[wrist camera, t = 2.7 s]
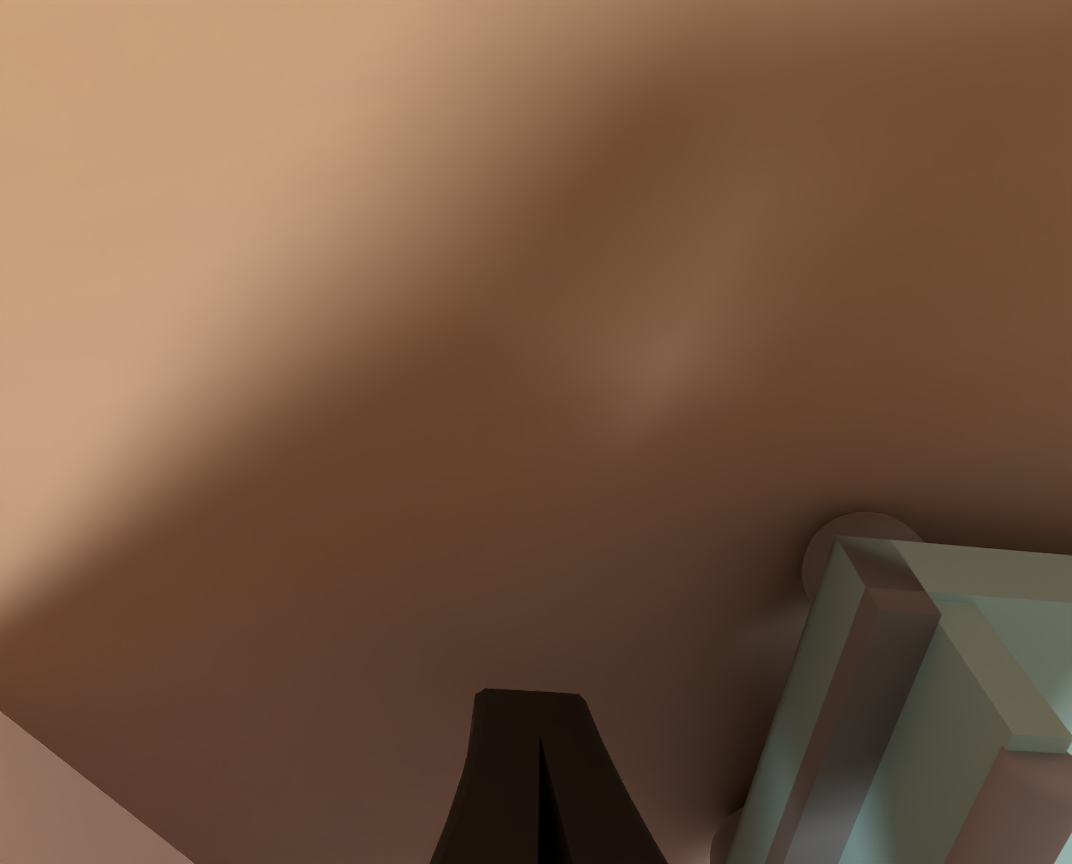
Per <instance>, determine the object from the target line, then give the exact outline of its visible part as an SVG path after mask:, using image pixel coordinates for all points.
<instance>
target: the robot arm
mask: <svg viewBox="0 0 1072 864" xmlns="http://www.w3.org/2000/svg"><path fill="white" fill-rule="evenodd" d="M430 864H668V863H667V861H666V859H665V858H664V856H663V854H662V853H661V851H660V849H659V848H658V846H657V844H656V843H655V841H654V839H653V837H652V835H651V834H650V832H649V830H648V828H647V827H646V825H645V823H644V821H643V819H642V818H641V816H640V814H639V812H638V810H637V809H636V807H635V805H634V803H633V801H632V800H631V798H630V796H629V794H628V792H627V790H626V788H625V786H624V784H623V782H622V781H621V779H620V776H619V774H618V772H617V770H616V768H615V766H614V764H613V762H612V760H611V758H610V756H609V754H608V752H607V750H606V748H605V746H604V743H603V741H602V739H601V737H600V735H599V732H598V730H597V728H596V725H595V723H594V721H593V718H592V716H591V714H590V711H589V709H588V706H587V703H586V701H585V700H584V699H583V698H582V697H581V696H580V695H579V694H571V693H554V692H538V691H521V690H505V689H488V688H485V689H483V690H482V691H480V692H479V693H477V694H475V700H474V708H473V715H472V723H471V730H470V737H469V745H468V752H467V758H466V762H465V765H464V769H463V773H462V776H461V779H460V782H459V785H458V788H457V791H456V794H455V797H454V800H453V803H452V806H451V809H450V813H449V816H448V819H447V821H446V824H445V827H444V829H443V832H442V834H441V837H440V839H439V842H438V844H437V847H436V849H435V851H434V854H433V856H432V859H431V861H430Z"/></svg>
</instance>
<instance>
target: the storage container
mask: <svg viewBox="0 0 1072 864" xmlns="http://www.w3.org/2000/svg"><path fill="white" fill-rule="evenodd" d="M0 864H194V863H193V862H192V861H191V860H189V859H188V858H187V857H185V856H184V855H183V854H182V853H180V852H179V851H178V850H176V849H175V848H174V847H173V846H171V845H170V844H169V843H168V842H166V841H165V840H164V839H162V838H161V837H160V836H159V835H157V834H156V833H155V832H154V831H152V830H151V829H150V828H148V827H147V826H146V825H145V824H143V823H142V822H141V821H140V820H138V819H137V818H136V817H134V816H133V815H132V814H131V813H129V812H128V811H127V810H126V809H124V808H123V807H122V806H120V805H119V804H118V803H117V802H115V801H114V800H113V799H112V798H110V797H109V796H108V795H106V794H105V793H104V792H103V791H101V790H100V789H99V788H97V787H96V786H95V785H94V784H92V783H91V782H90V781H89V780H87V779H86V778H85V777H83V776H82V775H81V774H80V773H78V772H77V771H76V770H75V769H73V768H72V767H71V766H69V765H68V764H67V763H66V762H64V761H63V760H62V759H61V758H59V757H58V756H57V755H55V754H54V753H53V752H52V751H50V750H49V749H48V748H47V747H45V746H44V745H43V744H41V743H40V742H39V741H38V740H36V739H35V738H34V737H33V736H31V735H30V734H29V733H27V732H26V731H25V730H24V729H22V728H21V727H20V726H19V725H17V724H16V723H15V722H13V721H12V720H11V719H10V718H8V717H7V716H6V715H4V714H3V713H2V712H1V711H0Z"/></svg>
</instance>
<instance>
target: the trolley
mask: <svg viewBox="0 0 1072 864" xmlns="http://www.w3.org/2000/svg"><path fill="white" fill-rule="evenodd" d="M802 581H803V586H804V590H805V593H806V596H807V598H808V600H809V602H810V604H811V608H810V611H809V614H808V617H807V620H806V623H805V626H804V629H803V632H802V635H801V638H800V641H799V644H798V647H797V650H796V653H795V656H794V659H793V662H792V665H791V668H790V671H789V674H788V677H787V680H786V683H785V686H784V689H783V692H782V695H781V698H780V701H779V704H778V707H777V710H776V713H775V716H774V719H773V722H772V724H771V727H770V730H769V733H768V736H767V739H766V742H765V745H764V748H763V751H762V754H761V757H760V760H759V763H758V766H757V769H756V772H755V775H754V778H753V781H752V784H751V787H750V790H749V793H748V796H747V799H746V802H745V805H744V808H741V809H739V810H737V811H735V812H733V813H732V814H730V815H729V816H728V817H727V818H726V819H725V820H724V821H723V822H722V823H721V824H720V826H719V827H718V829H717V831H716V833H715V835H714V838H713V841H712V845H711V851H710V864H1072V555H1062V554H1050V553H1038V552H1027V551H1015V550H1003V549H992V548H980V547H968V546H957V545H945V544H933V543H924V541H923V540H922V539H921V538H920V536H919V535H918V534H917V533H916V532H915V531H914V530H913V529H911V528H910V527H909V526H908V525H906V524H905V523H903V522H902V521H900V520H898V519H896V518H894V517H891V516H889V515H885V514H881V513H876V512H854V513H849V514H846V515H842V516H840V517H838V518H836V519H834V520H832V521H830V522H829V523H827V524H826V525H824V526H823V527H822V528H821V529H820V530H819V531H818V532H817V533H816V534H815V536H814V537H813V538H812V540H811V541H810V543H809V545H808V547H807V549H806V552H805V555H804V559H803V563H802Z"/></svg>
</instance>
